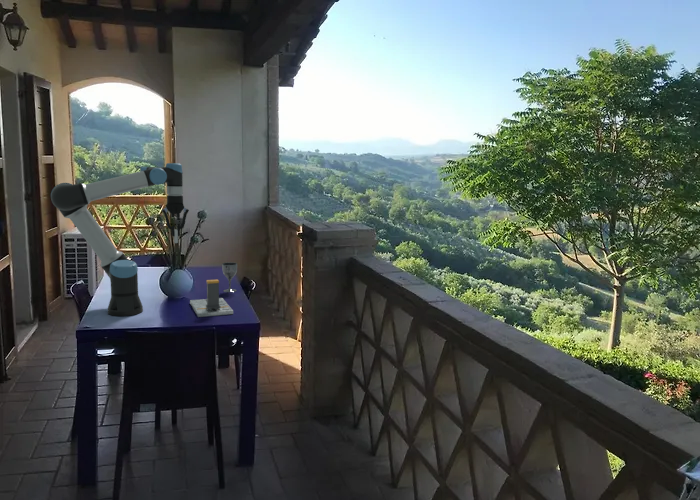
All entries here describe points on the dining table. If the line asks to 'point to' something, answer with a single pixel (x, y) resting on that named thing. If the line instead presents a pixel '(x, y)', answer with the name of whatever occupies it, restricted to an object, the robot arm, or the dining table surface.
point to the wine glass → (229, 273)
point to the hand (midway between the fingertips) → (176, 242)
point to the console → (202, 311)
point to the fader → (212, 294)
